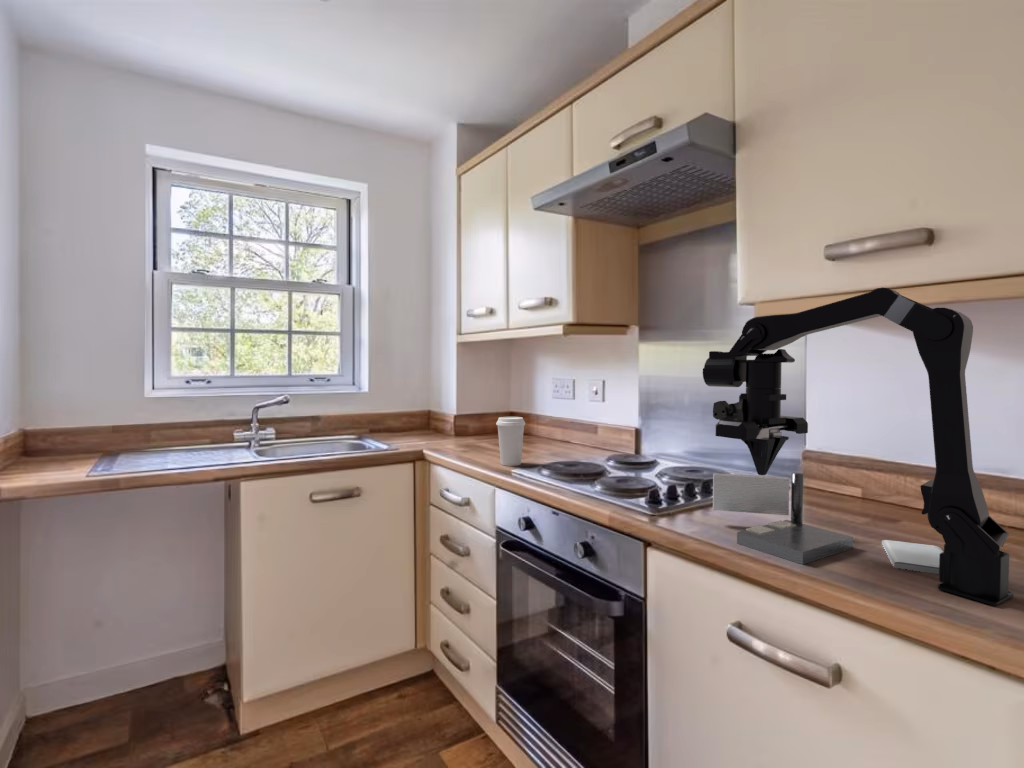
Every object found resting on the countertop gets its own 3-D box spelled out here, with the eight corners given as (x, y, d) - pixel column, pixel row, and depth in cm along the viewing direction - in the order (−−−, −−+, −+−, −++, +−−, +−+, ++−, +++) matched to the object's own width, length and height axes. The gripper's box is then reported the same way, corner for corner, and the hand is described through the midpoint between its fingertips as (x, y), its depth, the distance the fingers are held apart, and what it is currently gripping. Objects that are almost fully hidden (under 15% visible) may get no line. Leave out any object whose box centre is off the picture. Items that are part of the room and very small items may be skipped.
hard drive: (960, 570, 80) (939, 545, 91) (894, 561, 84) (881, 538, 95) (960, 581, 80) (939, 555, 91) (893, 571, 84) (881, 547, 95)
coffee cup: (490, 463, 174) (490, 417, 174) (514, 460, 180) (514, 415, 179) (506, 467, 166) (506, 419, 166) (531, 464, 172) (531, 418, 171)
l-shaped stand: (860, 545, 94) (861, 483, 94) (802, 564, 85) (803, 496, 85) (794, 528, 104) (795, 472, 104) (736, 543, 95) (737, 482, 95)
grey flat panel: (786, 512, 104) (787, 477, 104) (788, 515, 102) (789, 479, 102) (712, 507, 108) (713, 473, 108) (713, 510, 106) (713, 475, 106)
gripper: (755, 385, 107) (754, 463, 108) (691, 387, 98) (690, 472, 98) (810, 387, 98) (808, 472, 98) (745, 390, 88) (743, 484, 89)
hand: (761, 474), depth 96 cm, fingers closed
